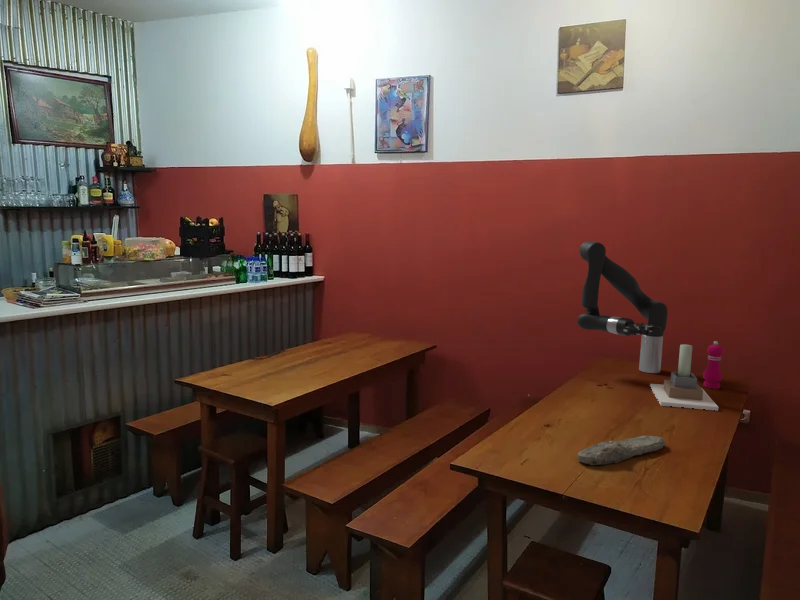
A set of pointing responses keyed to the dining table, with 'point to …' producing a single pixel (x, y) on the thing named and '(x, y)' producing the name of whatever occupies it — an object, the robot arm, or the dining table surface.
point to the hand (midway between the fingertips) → (655, 331)
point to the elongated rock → (619, 450)
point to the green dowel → (684, 360)
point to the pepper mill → (713, 367)
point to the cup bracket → (683, 393)
